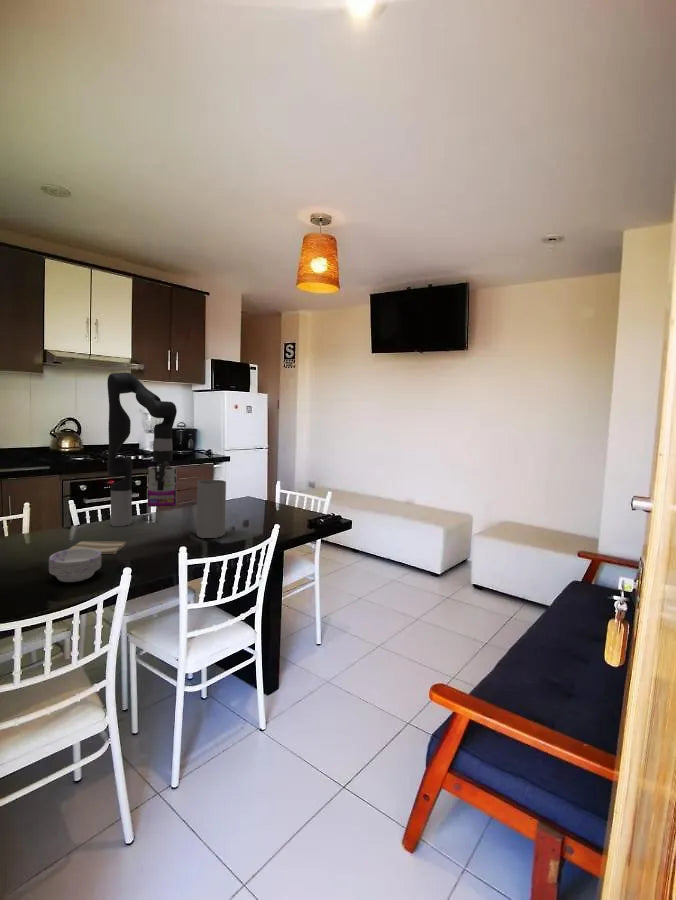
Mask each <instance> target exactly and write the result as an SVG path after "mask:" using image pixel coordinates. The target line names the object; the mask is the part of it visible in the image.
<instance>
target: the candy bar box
mask: <svg viewBox="0 0 676 900" xmlns="http://www.w3.org/2000/svg"><path fill="white" fill-rule="evenodd" d="M155 467H156V466H149V467H148V468H147V507H151V508H152V507H176V506H177V501H178V500H177V499H178V496H177V495H178V493H177V492H178V491H177V490H178V489H177V486H178V485H177V482H178V481H177V478H178V477H177V469H178V468H177V466H170V467H167V468H166V470H165V476H164V481H163V482H164V483H163V490H162V491H158V490H157V486H158V481H156V480H155ZM163 473H164V472H163ZM163 473H162V474H163ZM159 478H160V476H159Z"/></svg>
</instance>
